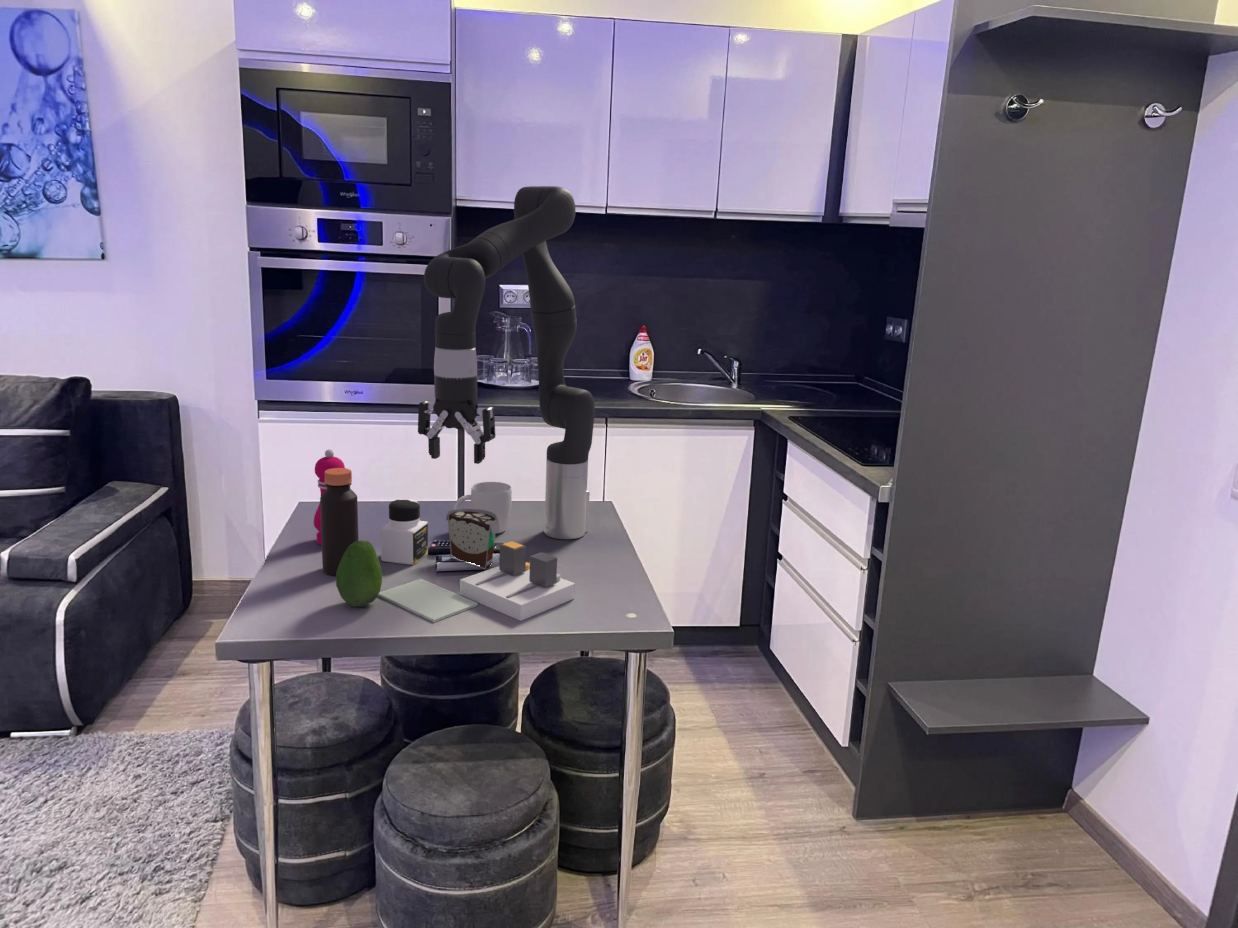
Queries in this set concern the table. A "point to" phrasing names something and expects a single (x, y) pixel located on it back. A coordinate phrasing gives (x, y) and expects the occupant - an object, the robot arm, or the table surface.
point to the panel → (515, 592)
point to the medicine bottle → (404, 533)
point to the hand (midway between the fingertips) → (456, 460)
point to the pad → (427, 600)
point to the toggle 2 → (543, 569)
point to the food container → (472, 535)
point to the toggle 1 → (512, 558)
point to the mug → (491, 500)
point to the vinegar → (337, 518)
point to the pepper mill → (320, 468)
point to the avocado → (359, 574)
